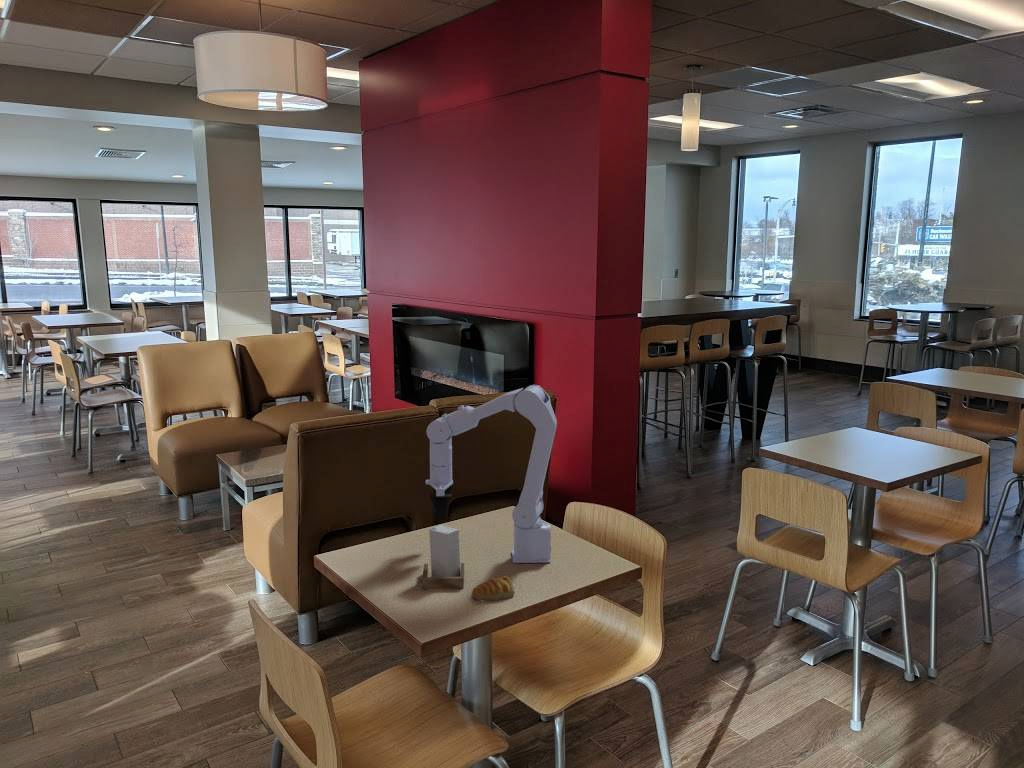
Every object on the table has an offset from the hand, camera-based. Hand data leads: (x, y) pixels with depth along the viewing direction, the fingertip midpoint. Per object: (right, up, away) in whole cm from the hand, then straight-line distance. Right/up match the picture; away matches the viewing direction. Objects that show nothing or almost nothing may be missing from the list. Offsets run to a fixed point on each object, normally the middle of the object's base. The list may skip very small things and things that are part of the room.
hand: (441, 514), depth 194 cm
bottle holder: (+2, -12, -18) cm, 22 cm away
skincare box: (+2, -12, -16) cm, 20 cm away
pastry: (+15, -14, -25) cm, 32 cm away
